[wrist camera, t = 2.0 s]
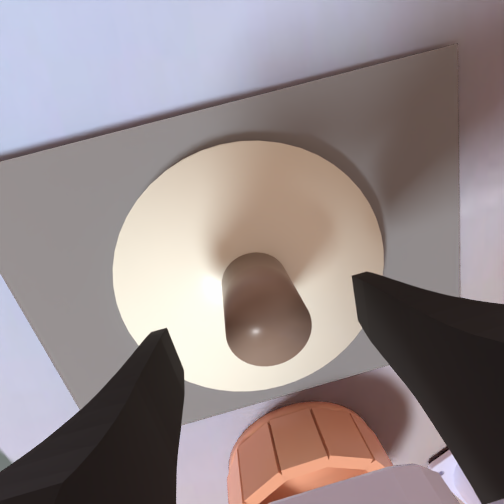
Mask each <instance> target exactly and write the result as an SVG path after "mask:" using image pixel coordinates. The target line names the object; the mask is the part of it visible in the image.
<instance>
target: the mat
mask: <svg viewBox="0 0 504 504" xmlns="http://www.w3.org/2000/svg"><path fill="white" fill-rule="evenodd" d="M257 140H259V141H268V142H277V143H283V144H287V145H291V146H295V147H299V148H302V149H304V150H307V151H309V152H312V153H314V154H316V155H319V156H320V157H322V158H324V159H325V160H327V161H329V162H330V163H332V164H334V165H335V166H336V167H337V168H339V169H340V170H341V171H342V172H344V173H345V174H346V175H347V176H348V177H349V178H350V179H351V180H352V181H353V182H354V183H355V184H356V185H357V187H358V188H359V189H360V190H361V192H362V193H363V195H364V196H365V198H366V199H367V201H368V202H369V204H370V206H371V208H372V210H373V212H374V214H375V216H376V219H377V222H378V225H379V229H380V232H381V236H382V243H383V249H384V268H383V276H385V277H388V278H391V279H394V280H397V281H400V282H403V283H406V284H409V285H412V286H416V287H419V288H422V289H426V290H430V291H433V292H437V293H441V294H445V295H450V296H454V297H460V245H459V113H458V43H457V44H453V45H450V46H446V47H442V48H438V49H434V50H430V51H426V52H422V53H419V54H415V55H411V56H407V57H403V58H399V59H395V60H391V61H388V62H384V63H380V64H376V65H372V66H368V67H364V68H361V69H357V70H353V71H349V72H345V73H341V74H337V75H333V76H330V77H326V78H322V79H318V80H314V81H310V82H306V83H302V84H299V85H295V86H291V87H287V88H283V89H279V90H275V91H272V92H268V93H264V94H260V95H256V96H252V97H248V98H244V99H241V100H237V101H233V102H229V103H225V104H221V105H217V106H213V107H210V108H206V109H202V110H198V111H194V112H190V113H186V114H183V115H179V116H175V117H171V118H167V119H163V120H159V121H155V122H152V123H148V124H144V125H140V126H136V127H132V128H128V129H124V130H121V131H117V132H113V133H109V134H105V135H101V136H97V137H93V138H90V139H86V140H82V141H78V142H74V143H70V144H66V145H63V146H59V147H55V148H51V149H47V150H43V151H39V152H35V153H32V154H28V155H24V156H20V157H16V158H12V159H8V160H4V161H1V162H0V274H1V275H2V277H3V279H4V281H5V282H6V284H7V286H8V287H9V289H10V291H11V293H12V294H13V296H14V298H15V299H16V301H17V303H18V305H19V306H20V308H21V310H22V311H23V313H24V315H25V317H26V318H27V320H28V322H29V323H30V325H31V327H32V329H33V330H34V332H35V334H36V335H37V337H38V339H39V341H40V342H41V344H42V346H43V347H44V349H45V351H46V353H47V354H48V356H49V358H50V359H51V361H52V363H53V365H54V366H55V368H56V370H57V371H58V373H59V375H60V377H61V378H62V380H63V382H64V383H65V385H66V387H67V389H68V390H69V392H70V394H71V395H72V397H73V399H74V401H75V402H76V404H77V406H78V407H79V409H80V410H81V409H82V408H83V407H84V406H85V405H86V404H87V403H88V402H89V401H90V400H91V399H92V398H93V397H94V396H95V395H96V394H97V393H98V392H99V391H100V390H101V389H102V388H103V387H104V386H105V385H106V384H107V383H108V382H109V380H110V379H111V378H112V377H113V376H114V375H115V374H116V373H117V372H118V370H119V369H120V368H121V367H122V366H123V365H124V363H125V362H126V361H127V360H128V359H129V357H130V356H131V355H132V354H133V353H134V351H135V350H136V349H137V348H138V346H139V345H138V344H137V343H136V341H135V340H134V338H133V337H132V336H131V334H130V333H129V331H128V329H127V327H126V325H125V323H124V321H123V320H122V317H121V314H120V312H119V309H118V306H117V303H116V298H115V293H114V288H113V261H114V252H115V248H116V244H117V240H118V236H119V233H120V231H121V229H122V226H123V224H124V222H125V219H126V217H127V215H128V214H129V212H130V210H131V209H132V207H133V206H134V204H135V202H136V201H137V199H138V198H139V197H140V196H141V195H142V194H143V192H144V191H145V190H146V189H147V188H148V186H149V185H150V184H151V183H153V182H154V181H155V180H156V179H157V178H158V177H159V176H160V175H162V174H163V173H164V172H165V171H166V170H167V169H169V168H170V167H172V166H173V165H175V164H176V163H178V162H179V161H181V160H182V159H184V158H186V157H188V156H190V155H192V154H194V153H197V152H199V151H201V150H204V149H207V148H210V147H213V146H216V145H219V144H225V143H231V142H237V141H257ZM388 365H389V364H388V362H387V361H386V360H385V359H384V358H383V356H382V355H381V354H380V353H379V351H378V350H377V349H376V348H375V346H374V345H373V344H372V343H371V341H370V340H369V338H368V337H367V335H366V333H365V332H364V330H363V328H362V329H361V331H360V332H359V333H358V335H357V336H356V337H355V339H354V340H353V341H352V342H351V343H350V344H349V345H348V346H347V348H346V349H344V350H343V351H342V352H341V353H340V354H339V355H338V356H337V357H336V358H335V359H333V360H332V361H330V362H329V363H328V364H326V365H325V366H324V367H322V368H320V369H319V370H317V371H315V372H314V373H312V374H310V375H308V376H306V377H304V378H301V379H299V380H297V381H295V382H292V383H289V384H286V385H283V386H279V387H275V388H270V389H266V390H257V391H235V392H234V391H224V390H217V389H212V388H207V387H203V386H200V385H197V384H194V383H191V382H188V381H186V380H184V384H185V396H184V405H183V414H182V423H181V425H185V424H188V423H192V422H195V421H198V420H202V419H205V418H209V417H212V416H216V415H219V414H223V413H226V412H230V411H233V410H236V409H240V408H243V407H247V406H250V405H254V404H257V403H261V402H264V401H267V400H271V399H274V398H278V397H281V396H285V395H288V394H292V393H295V392H299V391H302V390H305V389H309V388H312V387H316V386H319V385H323V384H326V383H330V382H333V381H336V380H340V379H343V378H347V377H350V376H354V375H357V374H361V373H364V372H368V371H371V370H374V369H378V368H381V367H385V366H388Z"/></svg>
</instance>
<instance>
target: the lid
mask: <svg viewBox="0 0 504 504" xmlns="http://www.w3.org/2000/svg"><path fill="white" fill-rule="evenodd" d="M383 268H384V249H383V243H382V236H381V232H380V229H379V225H378V222H377V219H376V216H375V214H374V212H373V210H372V208H371V206H370V204H369V202H368V201H367V199H366V198H365V196H364V195H363V193H362V192H361V190H360V189H359V188H358V187H357V185H356V184H355V183H354V182H353V181H352V180H351V179H350V178H349V177H348V176H347V175H346V174H345V173H344V172H342V171H341V170H340V169H339V168H337V167H336V166H335V165H334V164H332V163H330V162H329V161H327V160H325V159H324V158H322V157H320V156H319V155H316V154H314V153H312V152H309V151H307V150H304V149H302V148H299V147H295V146H291V145H287V144H283V143H277V142H268V141H259V140H257V141H237V142H231V143H225V144H219V145H216V146H213V147H210V148H207V149H204V150H201V151H199V152H197V153H194V154H192V155H190V156H188V157H186V158H184V159H182V160H181V161H179V162H178V163H176V164H175V165H173V166H172V167H170V168H169V169H167V170H166V171H165V172H164V173H163V174H162V175H160V176H159V177H158V178H157V179H156V180H155V181H154V182H153V183H151V184H150V185H149V186H148V188H147V189H146V190H145V191H144V192H143V194H142V195H141V196H140V197H139V198H138V199H137V201H136V202H135V204H134V206H133V207H132V209H131V210H130V212H129V214H128V215H127V217H126V219H125V222H124V224H123V226H122V229H121V231H120V233H119V236H118V240H117V244H116V248H115V252H114V261H113V288H114V293H115V298H116V303H117V306H118V309H119V312H120V314H121V317H122V320H123V321H124V323H125V325H126V327H127V329H128V331H129V333H130V334H131V336H132V337H133V338H134V340H135V341H136V343H137V344H138V345H140V344H141V343H142V342H143V340H144V339H145V338H146V337H147V336H148V335H149V334H150V333H151V332H153V331H157V330H160V329H164V328H167V329H168V332H169V334H170V337H171V339H172V342H173V344H174V346H175V349H176V351H177V354H178V356H179V359H180V361H181V364H182V366H183V369H184V380H186V381H188V382H191V383H194V384H197V385H200V386H203V387H207V388H212V389H217V390H224V391H234V392H235V391H257V390H266V389H270V388H275V387H279V386H283V385H286V384H289V383H292V382H295V381H297V380H299V379H301V378H304V377H306V376H308V375H310V374H312V373H314V372H315V371H317V370H319V369H320V368H322V367H324V366H325V365H326V364H328V363H329V362H330V361H332V360H333V359H335V358H336V357H337V356H338V355H339V354H340V353H341V352H342V351H343V350H344V349H346V348H347V346H348V345H349V344H350V343H351V342H352V341H353V340H354V339H355V337H356V336H357V335H358V333H359V332H360V331H361V329H362V327H361V325H360V323H359V322H358V318H357V311H356V304H355V297H354V290H353V283H352V275H356V274H359V273H363V272H366V271H367V272H372V273H375V274H378V275H382V276H383Z"/></svg>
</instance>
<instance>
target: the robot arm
mask: <svg viewBox="0 0 504 504" xmlns="http://www.w3.org/2000/svg"><path fill="white" fill-rule="evenodd" d="M352 283H353V290H354V297H355V304H356V311H357V318H358V322H359V323H360V325H361V327H362V328H363V330H364V332H365V333H366V335H367V337H368V338H369V340H370V341H371V343H372V344H373V345H374V346H375V348H376V349H377V350H378V351H379V353H380V354H381V355H382V356H383V358H384V359H385V360H386V361H387V362H388V364H389V365H390V366H391V367H392V369H393V370H394V371H395V372H396V373H397V375H398V376H399V377H400V378H401V379H402V381H403V382H404V383H405V384H406V386H407V387H408V388H409V389H410V391H411V392H412V393H413V395H414V396H415V397H416V399H417V400H418V402H419V403H420V405H421V406H422V408H423V409H424V411H425V412H426V414H427V415H428V417H429V418H430V420H431V421H432V423H433V425H434V426H435V428H436V429H437V431H438V432H439V434H440V436H441V437H442V439H443V440H444V442H445V444H446V445H447V447H448V448H449V450H448V451H447V452H445V453H444V454H442V455H441V456H439V457H438V458H437V459H435V460H434V461H432V462H431V463H430V464H429V466H428V468H425V467H422V466H420V465H416V464H406V465H397V466H388V467H385V468H382V469H379V470H375V471H372V472H369V473H365V474H362V475H359V476H356V477H352V478H349V479H346V480H342V481H339V482H336V483H332V484H329V485H326V486H323V487H319V488H316V489H313V490H309V491H306V492H303V493H300V494H296V495H293V496H290V497H286V498H283V499H280V500H276V501H273V502H270V503H268V504H460V503H459V502H458V500H457V499H456V498H455V496H454V495H453V493H454V494H455V495H456V496H457V497H458V498H459V499H460V500H461V501H463V502H464V503H465V504H504V304H497V303H489V302H482V301H476V300H470V299H465V298H460V297H454V296H450V295H445V294H441V293H437V292H433V291H430V290H426V289H422V288H419V287H416V286H412V285H409V284H406V283H403V282H400V281H397V280H394V279H391V278H388V277H385V276H382V275H378V274H375V273H372V272H367V271H366V272H363V273H359V274H356V275H352ZM184 396H185V384H184V369H183V366H182V364H181V361H180V359H179V356H178V354H177V351H176V349H175V346H174V344H173V342H172V339H171V337H170V334H169V332H168V329H167V328H164V329H160V330H157V331H153V332H151V333H150V334H149V335H148V336H147V337H146V338H145V339H144V340H143V342H142V343H141V344H140V345H139V346H138V348H137V349H136V350H135V351H134V353H133V354H132V355H131V356H130V357H129V359H128V360H127V361H126V362H125V363H124V365H123V366H122V367H121V368H120V369H119V370H118V372H117V373H116V374H115V375H114V376H113V377H112V378H111V379H110V380H109V382H108V383H107V384H106V385H105V386H104V387H103V388H102V389H101V390H100V391H99V392H98V393H97V394H96V395H95V396H94V397H93V398H92V399H91V400H90V401H89V402H88V403H87V404H86V405H85V406H84V407H83V408H82V409H81V410H80V411H79V412H78V413H76V414H75V415H74V416H73V417H72V418H71V419H70V420H68V421H67V422H66V423H65V424H63V425H62V426H61V427H60V428H59V429H57V430H56V431H55V432H54V433H53V434H51V435H50V436H49V437H48V438H47V439H45V440H44V441H43V442H41V443H40V444H39V445H37V446H36V447H35V448H33V449H32V450H31V451H29V452H28V453H27V454H25V455H24V456H22V457H21V458H20V459H18V460H17V461H15V462H14V463H13V464H11V465H10V466H8V467H7V468H5V469H4V470H2V471H1V472H0V504H176V471H177V456H178V447H179V439H180V431H181V423H182V414H183V405H184Z"/></svg>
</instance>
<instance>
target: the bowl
mask: <svg viewBox="0 0 504 504" xmlns="http://www.w3.org/2000/svg"><path fill="white" fill-rule="evenodd" d="M388 466H393V464H392V463H391V461H390V459H389V457H388V456H387V454H386V452H385V451H384V449H383V447H382V445H381V444H380V442H379V440H378V438H377V437H376V435H375V433H374V432H373V431H372V430H371V429H370V428H369V427H368V426H367V424H366V423H365V421H364V420H363V419H362V418H361V417H360V416H359V415H358V414H356V413H355V412H353V411H352V410H350V409H348V408H346V407H344V406H341V405H338V404H334V403H329V402H319V401H314V402H302V403H296V404H292V405H288V406H285V407H282V408H279V409H276V410H274V411H272V412H270V413H268V414H266V415H264V416H263V417H261V418H260V419H258V420H257V421H255V422H254V423H253V424H252V425H250V426H249V427H248V428H247V429H246V430H245V431H244V432H243V434H242V435H241V436H240V437H239V438H238V440H237V442H236V443H235V445H234V447H233V449H232V452H231V455H230V459H229V474H228V477H227V487H228V502H229V504H268V503H270V502H273V501H276V500H280V499H283V498H286V497H290V496H293V495H296V494H300V493H303V492H306V491H309V490H313V489H316V488H319V487H323V486H326V485H329V484H332V483H336V482H339V481H342V480H346V479H349V478H352V477H356V476H359V475H362V474H365V473H369V472H372V471H375V470H379V469H382V468H385V467H388Z"/></svg>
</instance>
